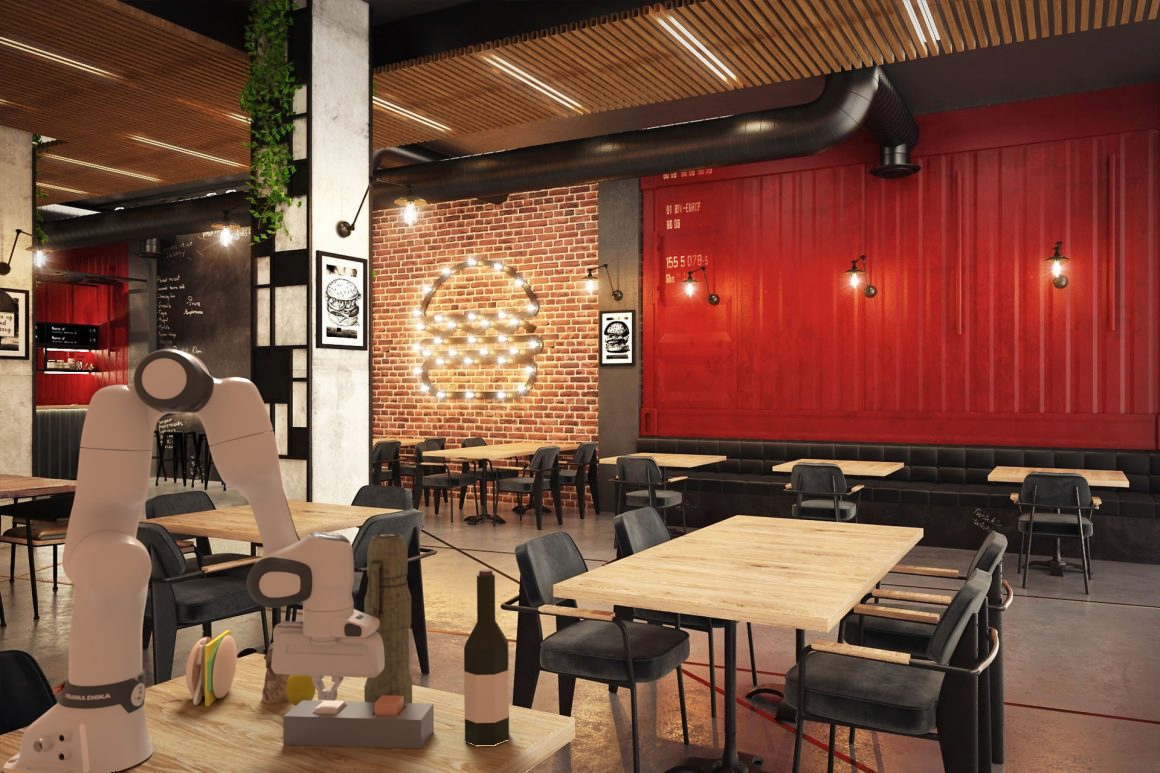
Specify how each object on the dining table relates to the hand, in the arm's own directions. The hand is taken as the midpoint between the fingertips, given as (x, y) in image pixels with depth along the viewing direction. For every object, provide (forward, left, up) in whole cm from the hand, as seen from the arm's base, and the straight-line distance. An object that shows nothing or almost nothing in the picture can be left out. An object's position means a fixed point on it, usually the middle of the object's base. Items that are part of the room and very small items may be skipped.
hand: (327, 699), depth 155 cm
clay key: (+11, 0, -3) cm, 12 cm away
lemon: (-11, +14, -7) cm, 19 cm away
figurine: (-18, +20, -7) cm, 28 cm away
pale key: (0, 0, -5) cm, 5 cm away
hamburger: (-33, +20, -7) cm, 39 cm away
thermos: (+8, +10, -7) cm, 15 cm away
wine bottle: (+29, +2, -7) cm, 30 cm away
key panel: (+6, 0, -7) cm, 9 cm away
